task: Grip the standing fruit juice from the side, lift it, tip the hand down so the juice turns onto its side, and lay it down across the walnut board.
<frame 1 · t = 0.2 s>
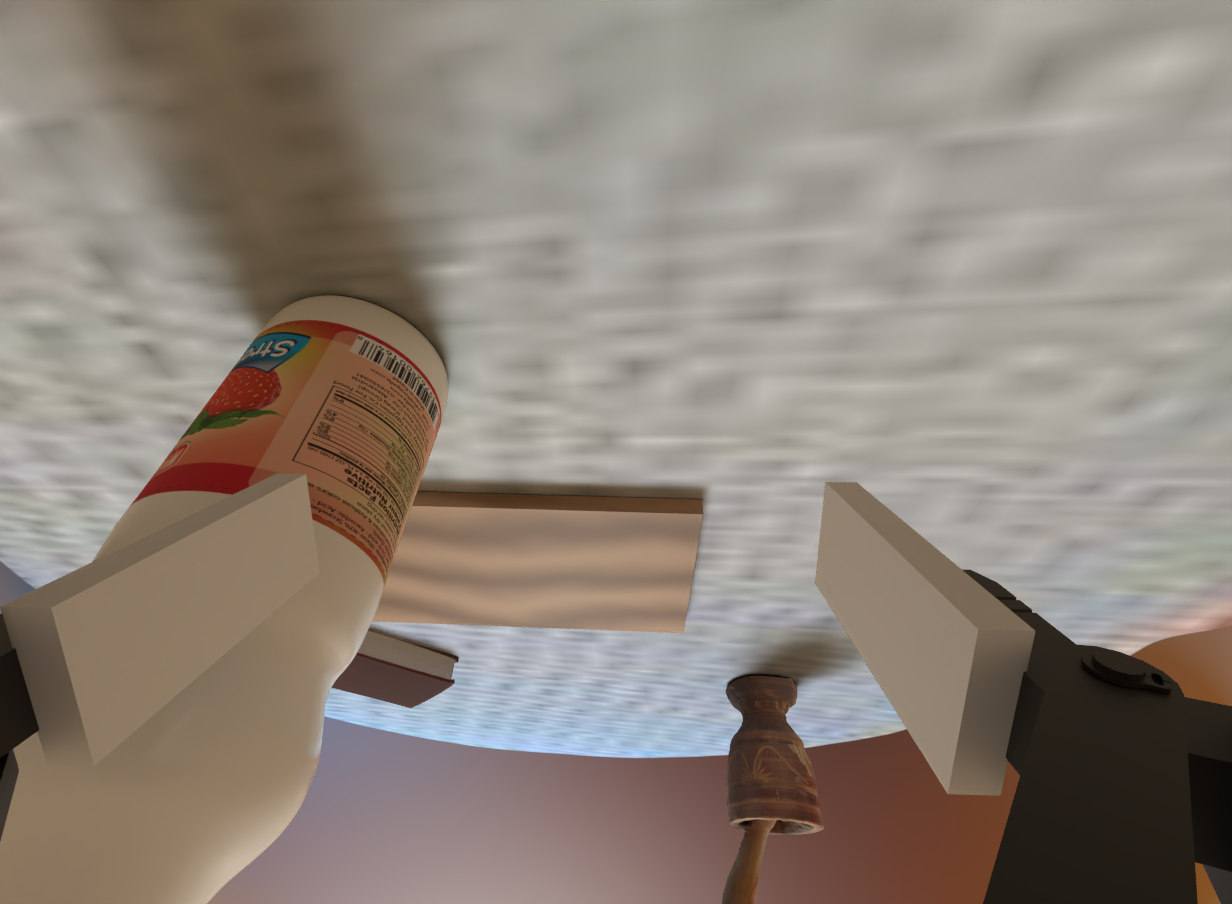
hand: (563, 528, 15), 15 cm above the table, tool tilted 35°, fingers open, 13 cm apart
walnut board: (463, 561, 46), on the table
fruit juice: (365, 363, 31), on the table
book: (353, 643, 61), on the table
mortar and pestle: (753, 689, 64), on the table
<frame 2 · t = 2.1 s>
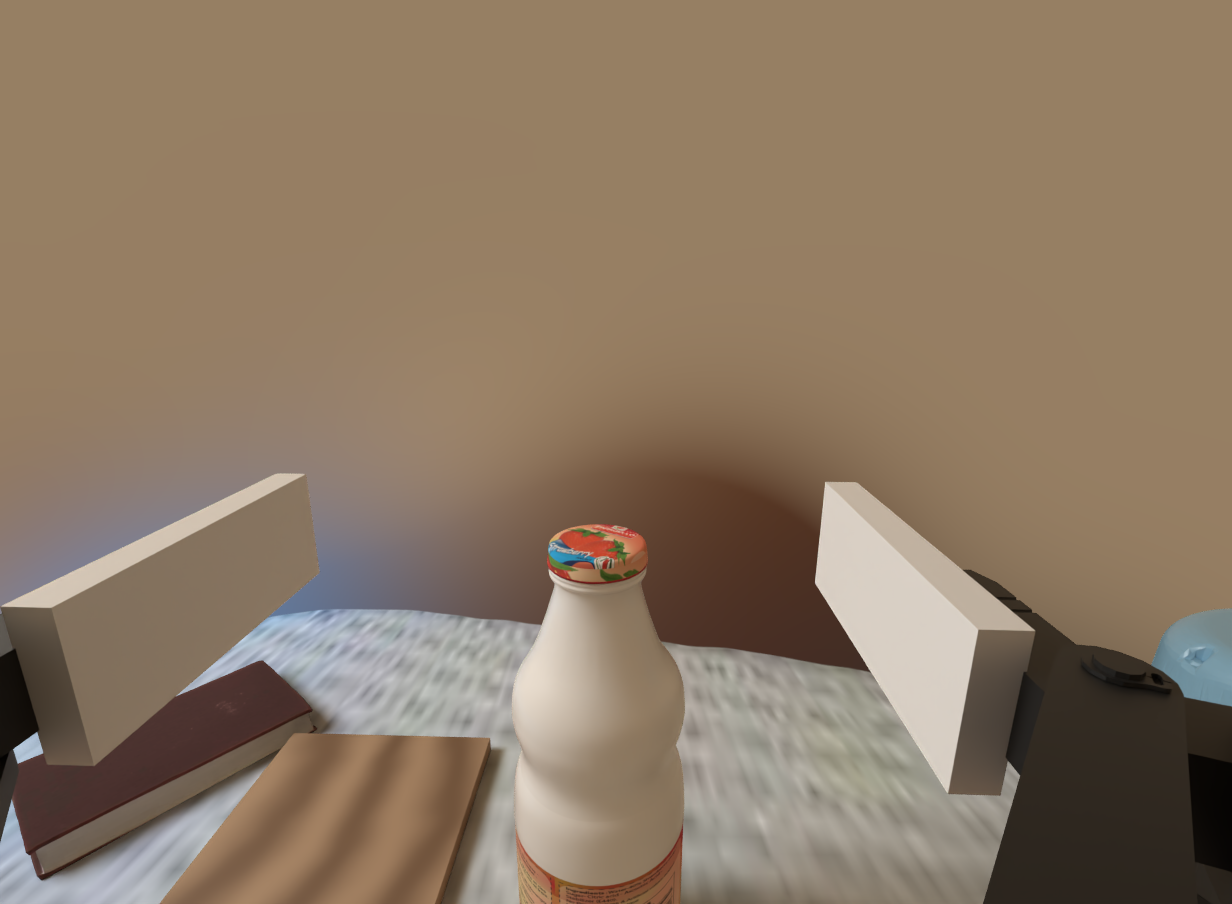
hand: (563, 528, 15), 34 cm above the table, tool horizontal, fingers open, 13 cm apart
book: (177, 764, 52), on the table
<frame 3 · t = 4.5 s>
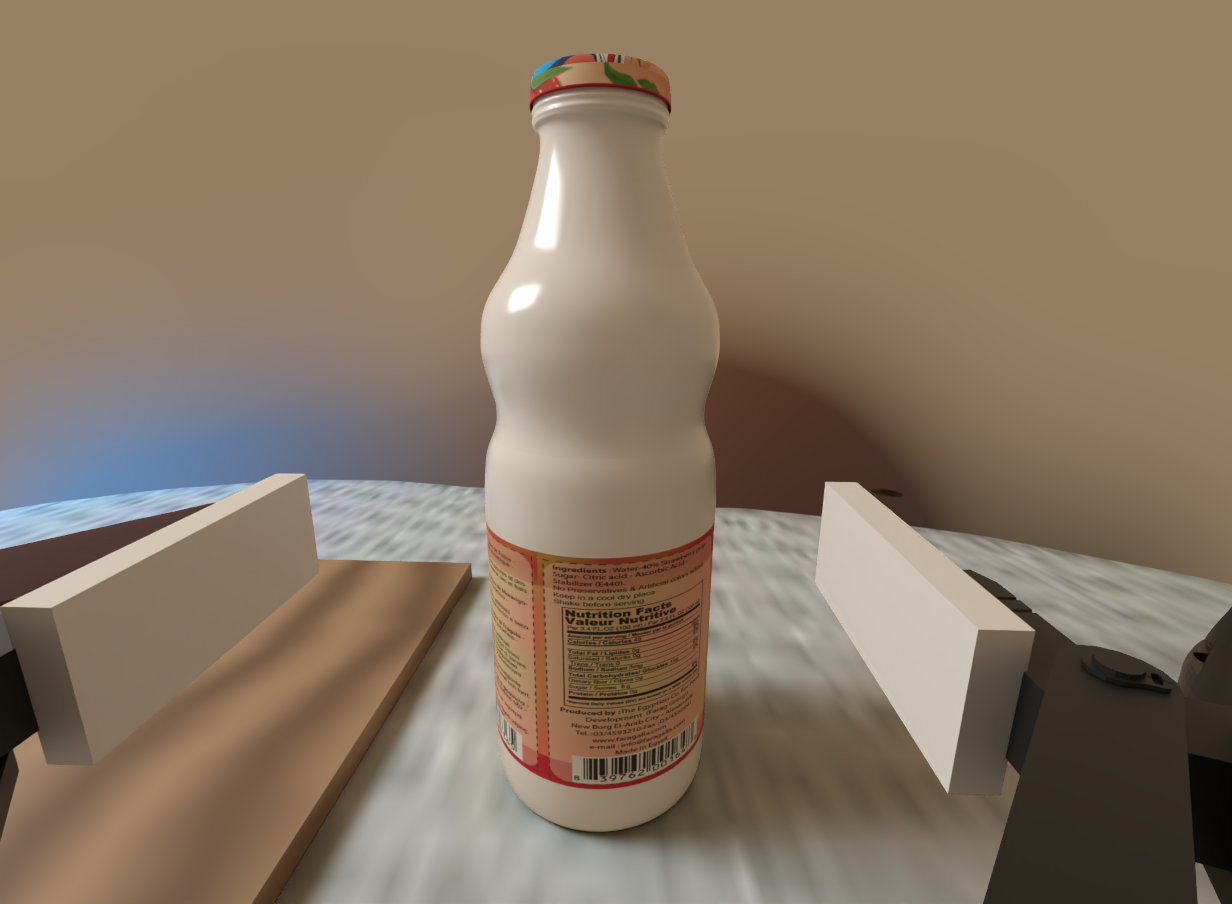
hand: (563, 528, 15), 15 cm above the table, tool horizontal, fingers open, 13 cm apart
walnut board: (173, 751, 27), on the table
fruit juice: (601, 754, 27), on the table
book: (103, 588, 44), on the table
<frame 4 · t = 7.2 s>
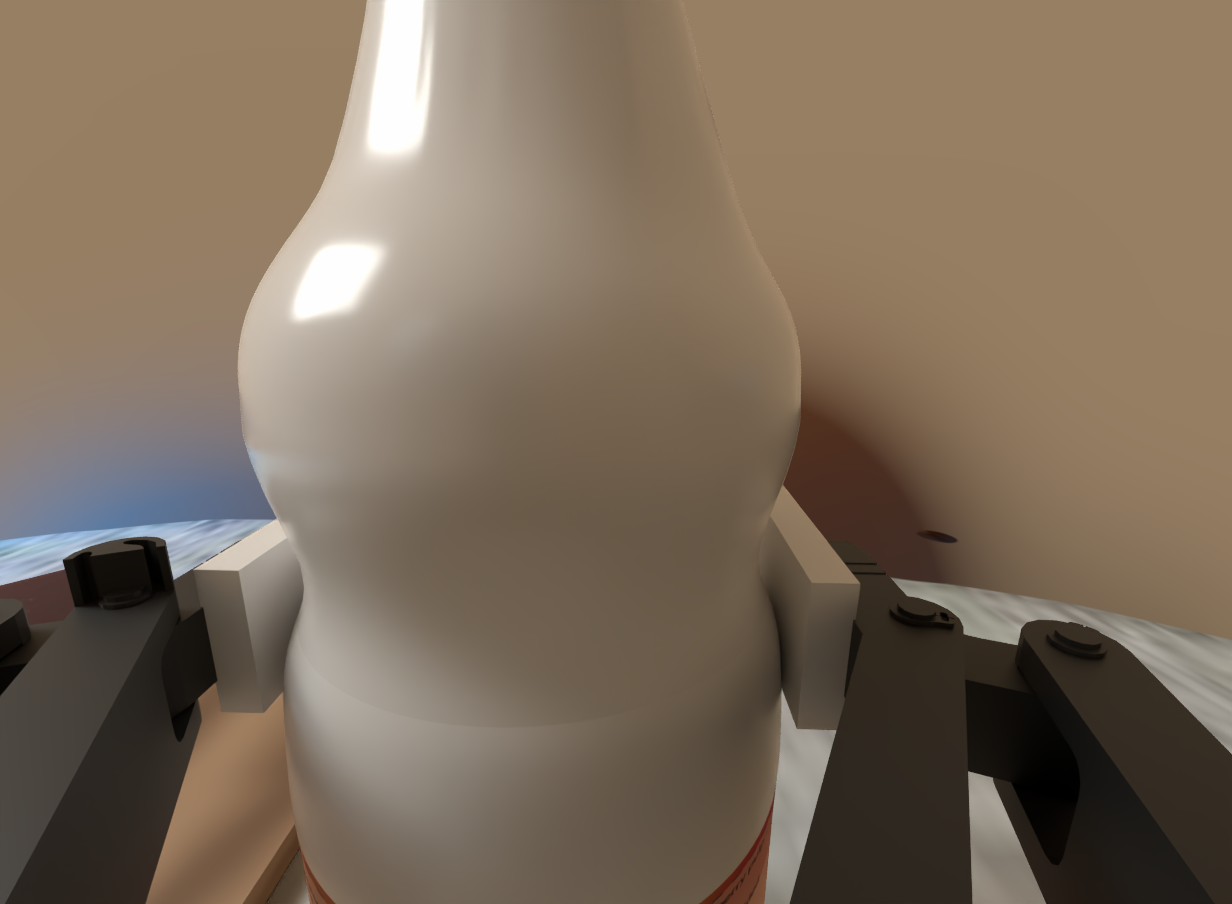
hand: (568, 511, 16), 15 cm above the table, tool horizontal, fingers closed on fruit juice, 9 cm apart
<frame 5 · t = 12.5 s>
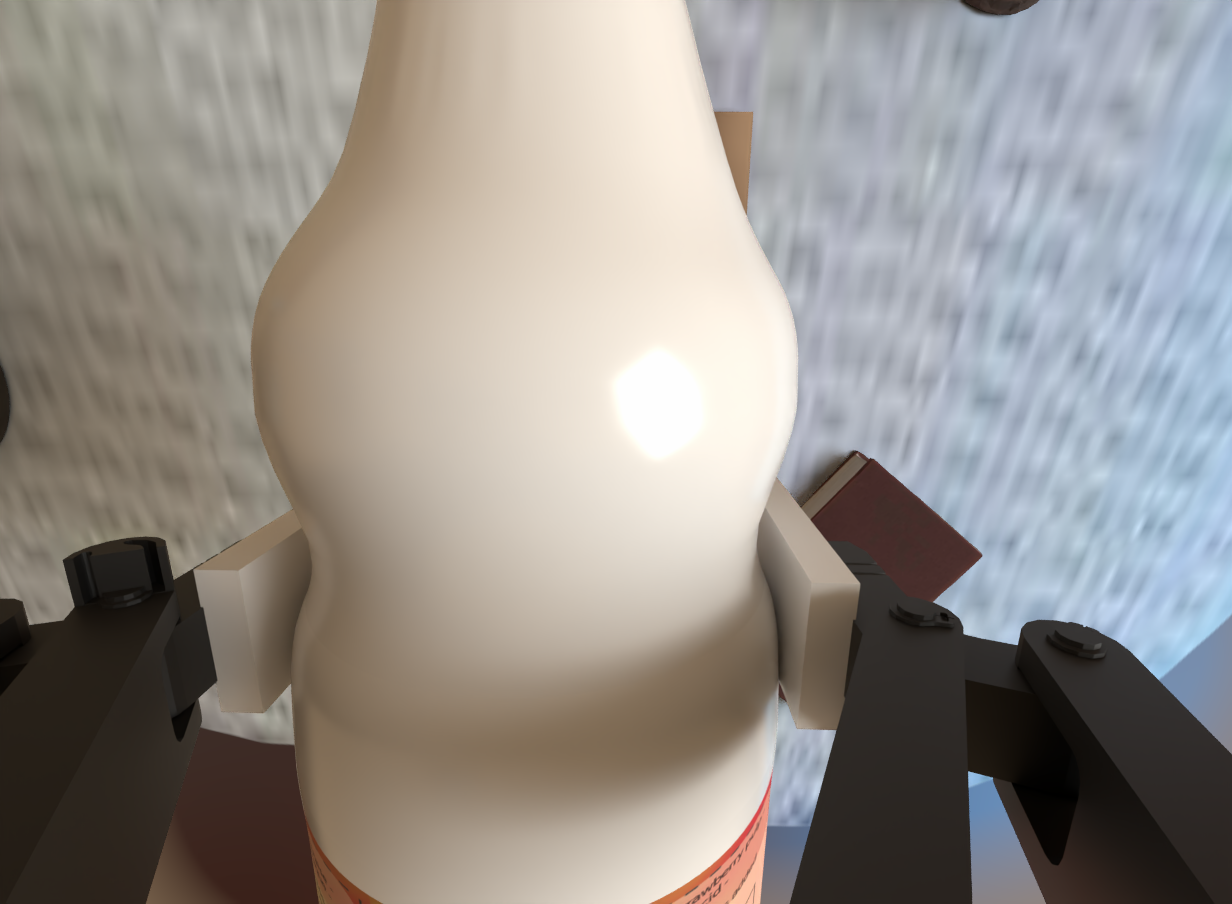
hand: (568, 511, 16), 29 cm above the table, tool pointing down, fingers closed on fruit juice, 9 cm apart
walnut board: (614, 380, 44), on the table
book: (824, 577, 48), on the table
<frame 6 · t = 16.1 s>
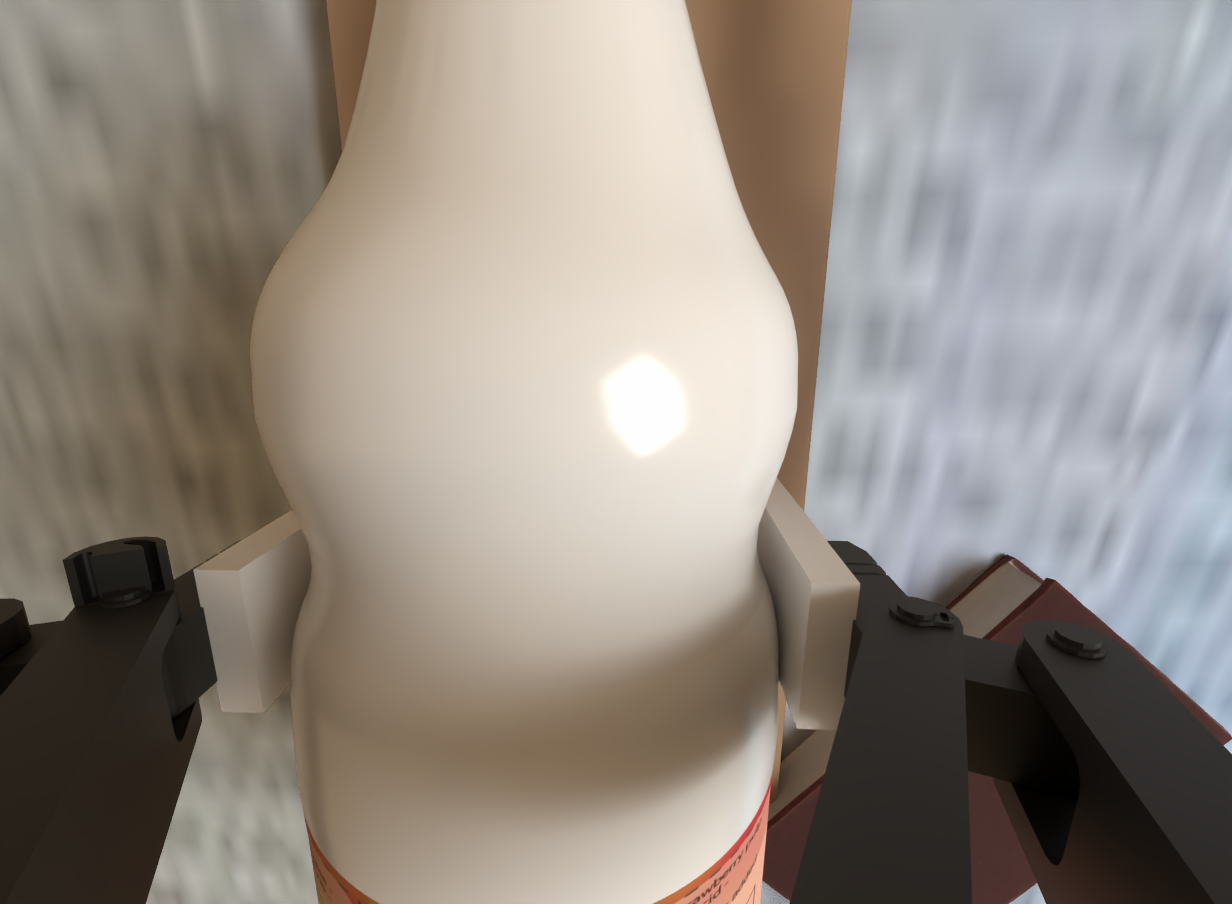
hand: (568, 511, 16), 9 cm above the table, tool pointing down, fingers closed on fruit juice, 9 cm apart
walnut board: (590, 434, 25), on the table
book: (937, 751, 29), on the table
when the fingers open (3 cm above the table, at t = 18.5 s): fruit juice drops 2 cm, resting on walnut board.
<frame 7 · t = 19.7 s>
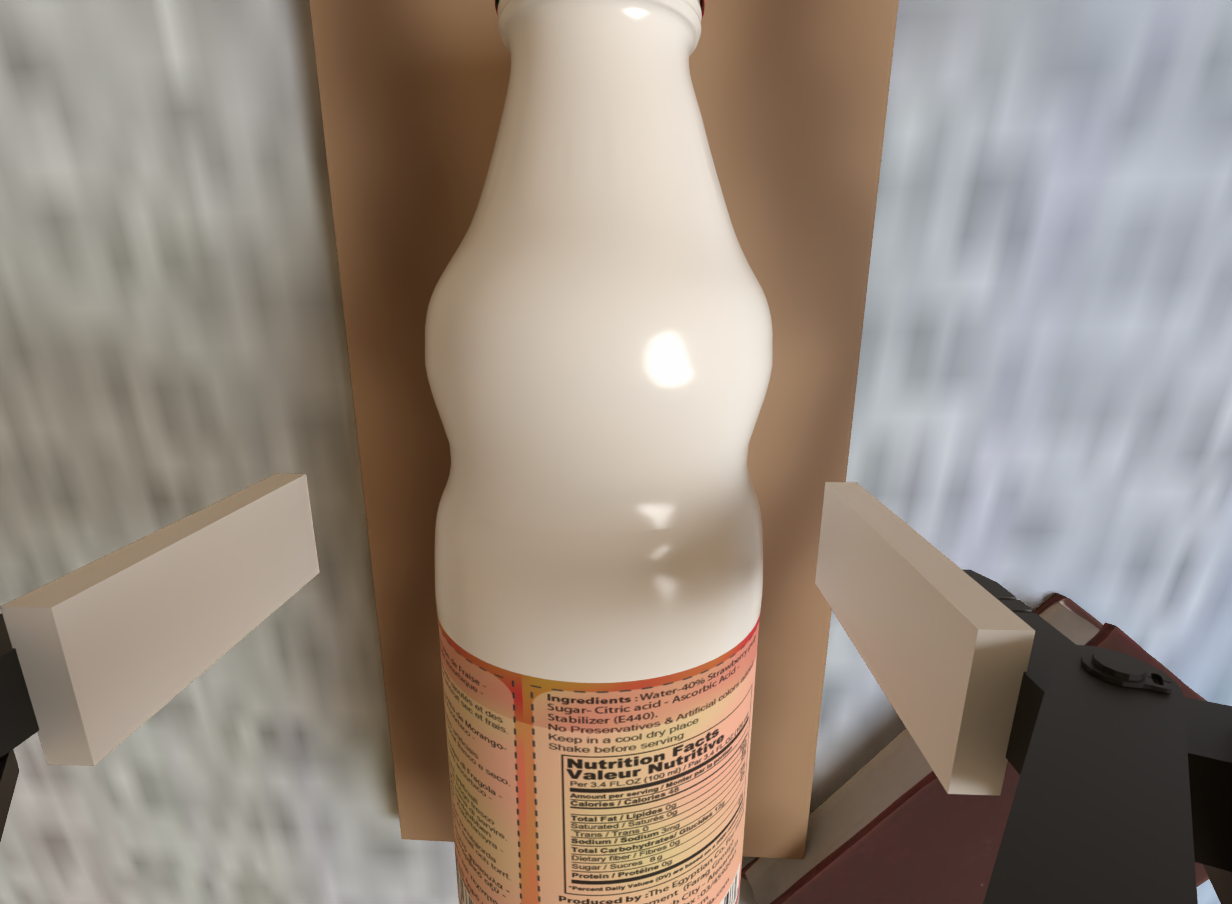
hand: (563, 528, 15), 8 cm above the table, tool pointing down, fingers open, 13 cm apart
walnut board: (600, 451, 22), on the table
book: (977, 806, 26), on the table
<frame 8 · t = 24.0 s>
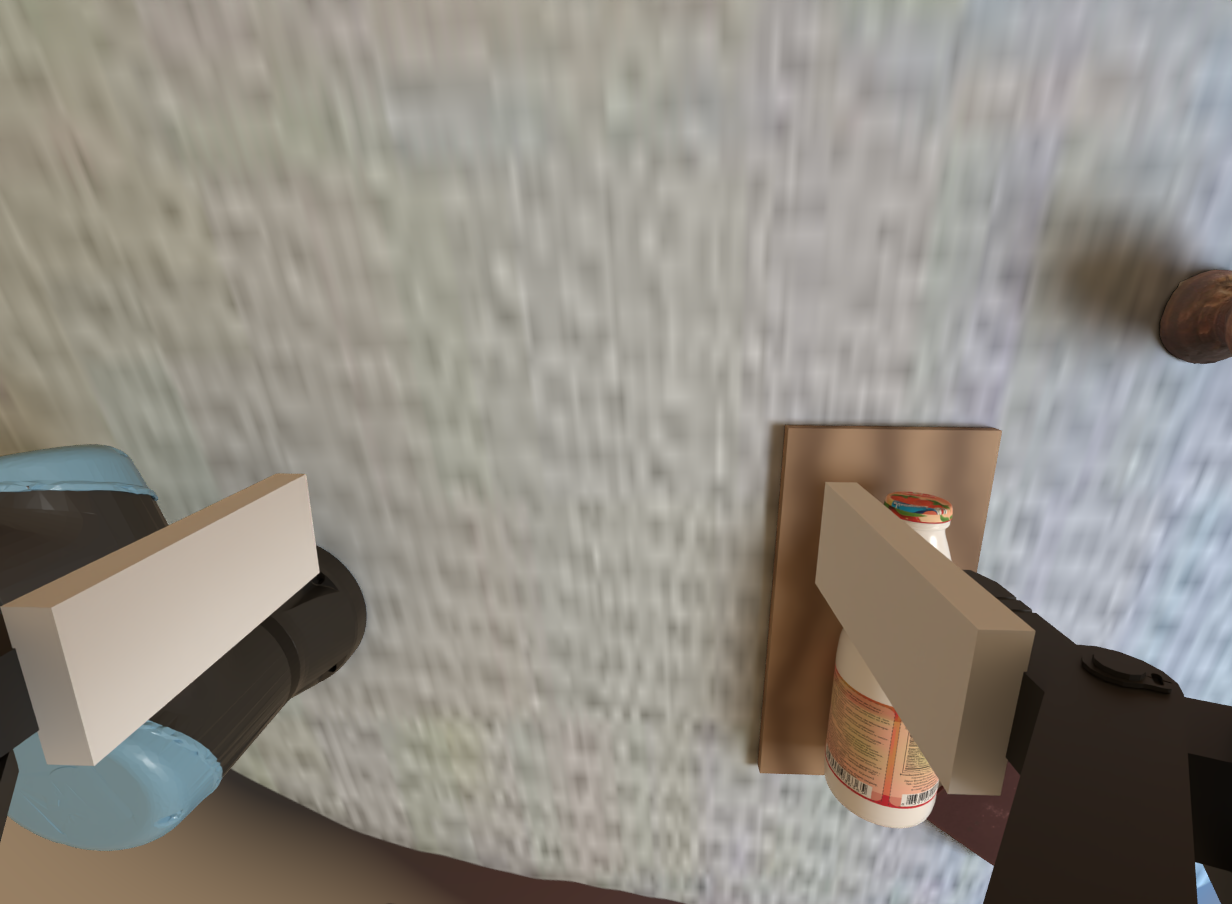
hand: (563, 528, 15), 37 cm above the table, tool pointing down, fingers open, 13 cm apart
walnut board: (865, 610, 55), on the table
fruit juice: (875, 789, 53), point 6 cm above the table, touching walnut board
book: (1010, 757, 60), on the table
mortar and pestle: (1220, 323, 48), on the table
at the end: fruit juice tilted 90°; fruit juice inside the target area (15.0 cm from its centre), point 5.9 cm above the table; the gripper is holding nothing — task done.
